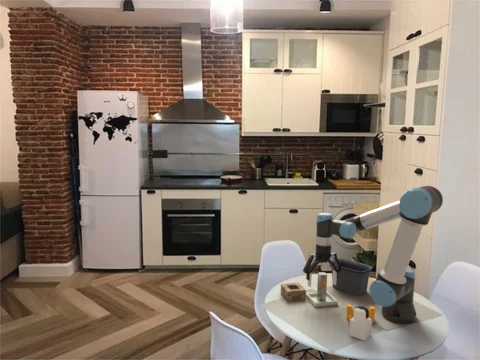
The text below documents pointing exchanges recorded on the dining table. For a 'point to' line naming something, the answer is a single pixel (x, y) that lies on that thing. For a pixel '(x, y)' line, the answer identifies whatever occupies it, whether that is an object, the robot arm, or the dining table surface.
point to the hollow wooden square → (293, 291)
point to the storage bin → (352, 276)
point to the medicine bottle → (360, 323)
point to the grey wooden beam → (321, 286)
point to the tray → (329, 301)
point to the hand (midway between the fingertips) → (321, 285)
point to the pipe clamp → (351, 313)
